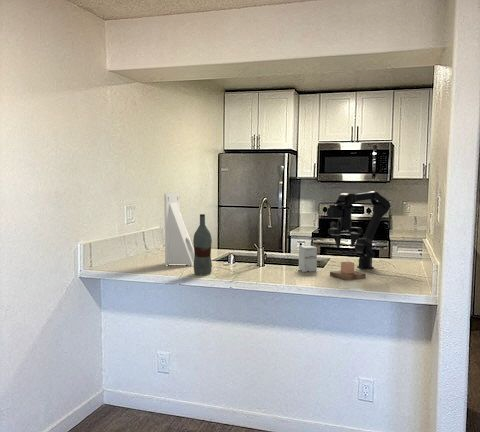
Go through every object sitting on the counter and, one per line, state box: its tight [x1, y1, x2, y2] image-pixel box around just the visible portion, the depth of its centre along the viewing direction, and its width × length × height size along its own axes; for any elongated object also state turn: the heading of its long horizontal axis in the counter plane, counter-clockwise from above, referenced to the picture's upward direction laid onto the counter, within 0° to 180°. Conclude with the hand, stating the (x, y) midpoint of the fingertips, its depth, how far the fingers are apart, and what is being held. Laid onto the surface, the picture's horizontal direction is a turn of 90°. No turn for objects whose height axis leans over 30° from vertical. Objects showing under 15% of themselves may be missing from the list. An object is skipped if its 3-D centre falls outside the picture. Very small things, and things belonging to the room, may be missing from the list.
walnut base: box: [329, 269, 366, 281], centre depth 226 cm, size 12×12×2 cm
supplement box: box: [298, 245, 318, 273], centre depth 242 cm, size 7×7×13 cm
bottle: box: [192, 213, 213, 276], centre depth 233 cm, size 9×9×30 cm
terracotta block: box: [340, 261, 355, 274], centre depth 226 cm, size 4×4×5 cm
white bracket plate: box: [163, 192, 195, 265], centre depth 259 cm, size 20×14×40 cm
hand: (345, 247), depth 242 cm, fingers open, 9 cm apart
